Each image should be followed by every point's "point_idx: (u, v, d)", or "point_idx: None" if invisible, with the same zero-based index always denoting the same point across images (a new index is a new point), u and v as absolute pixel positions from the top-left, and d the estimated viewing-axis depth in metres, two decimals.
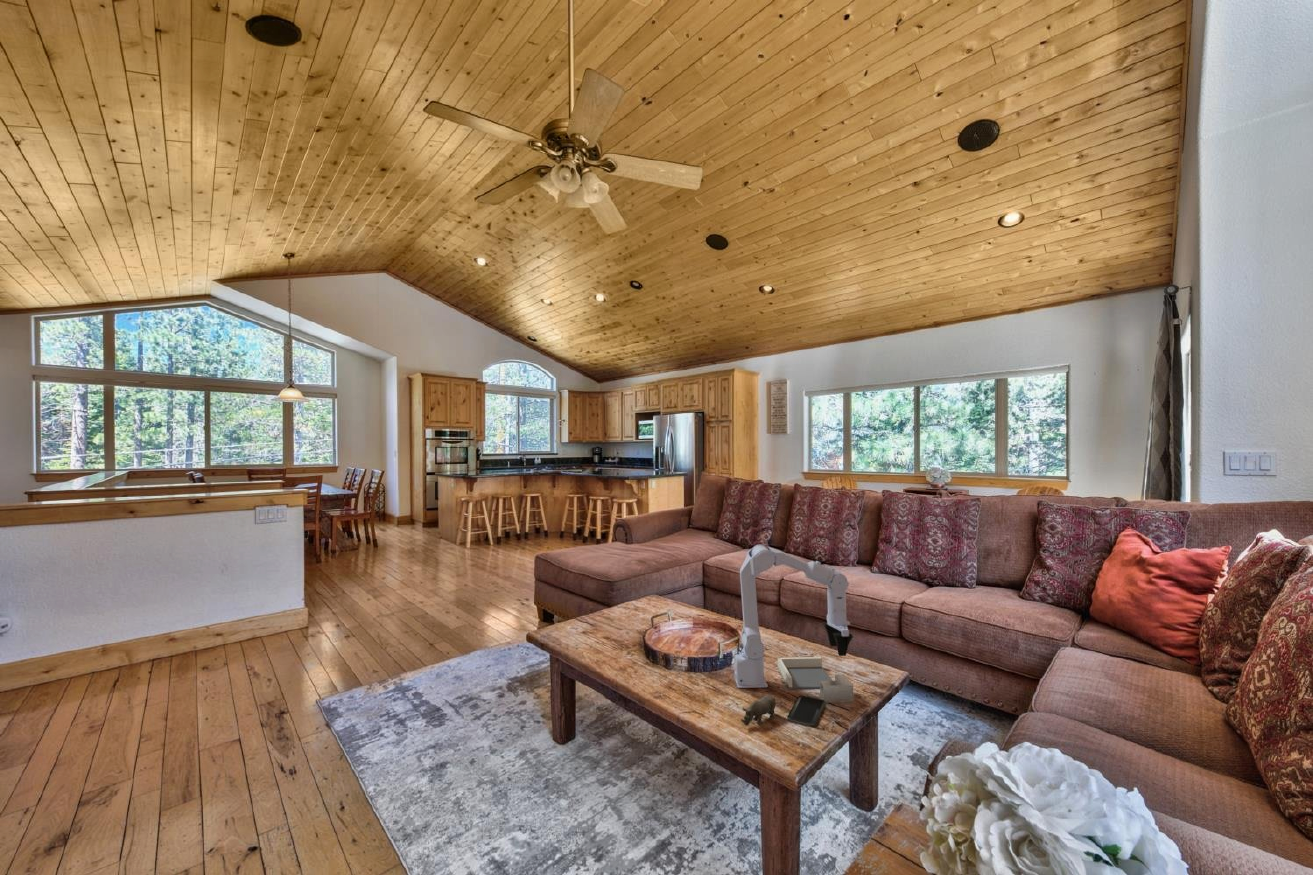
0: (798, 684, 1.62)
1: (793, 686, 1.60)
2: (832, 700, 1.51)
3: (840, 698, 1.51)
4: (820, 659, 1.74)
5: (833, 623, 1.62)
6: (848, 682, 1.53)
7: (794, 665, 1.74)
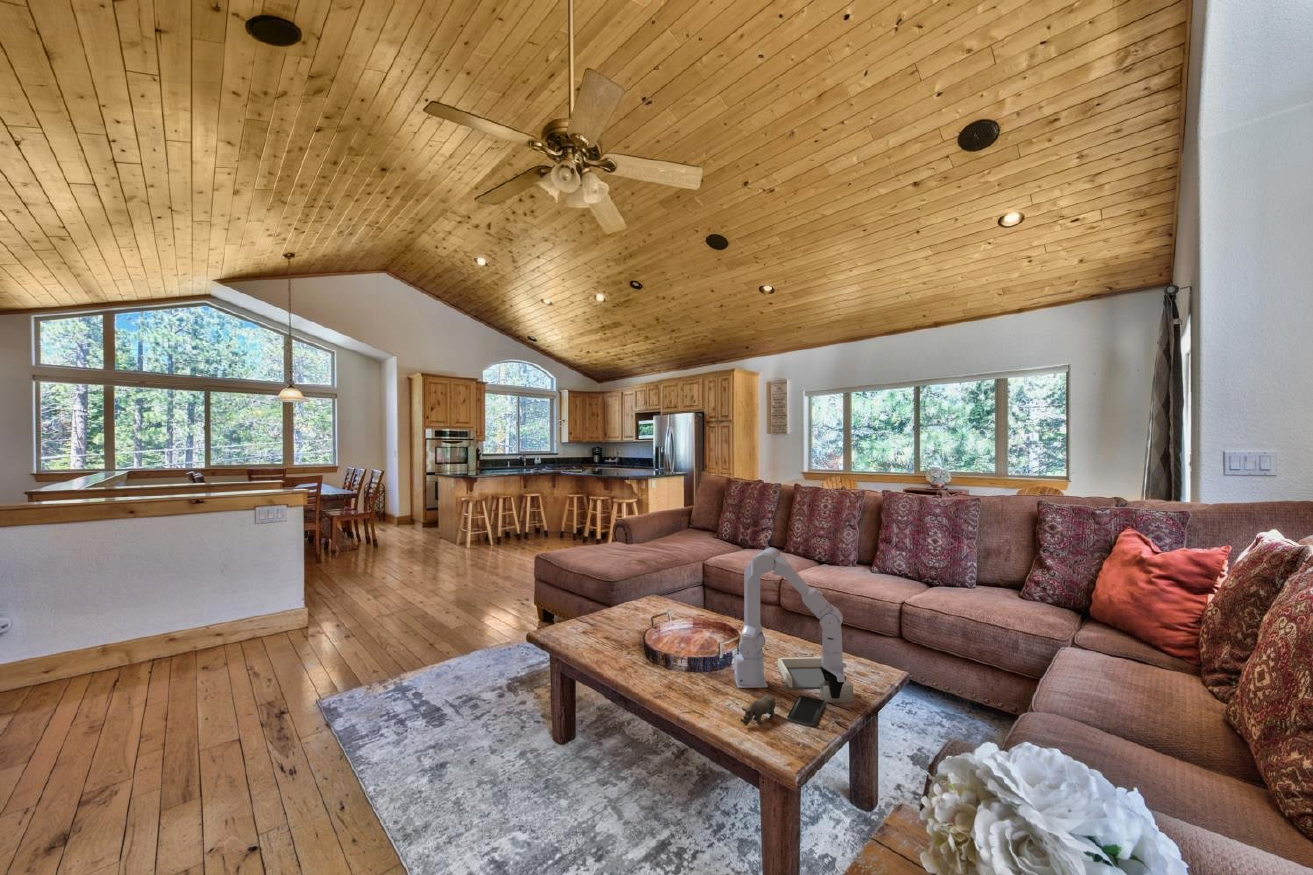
0: (798, 684, 1.62)
1: (793, 686, 1.60)
2: (832, 700, 1.51)
3: (840, 698, 1.51)
4: (820, 659, 1.74)
5: (828, 666, 1.51)
6: (848, 682, 1.53)
7: (794, 665, 1.74)
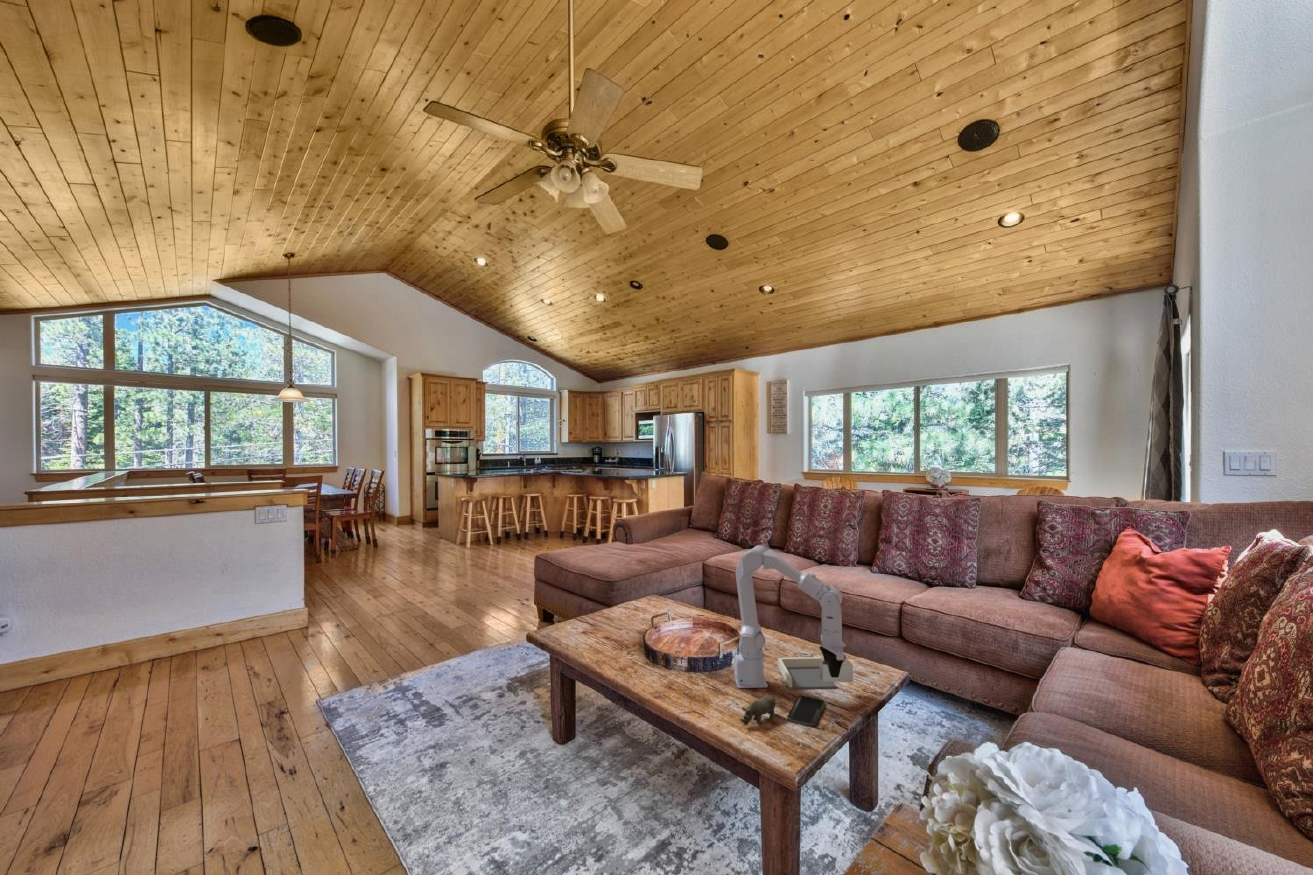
0: (798, 684, 1.62)
1: (793, 686, 1.60)
2: (832, 680, 1.51)
3: (839, 678, 1.51)
4: (820, 659, 1.74)
5: (827, 645, 1.51)
6: (848, 662, 1.53)
7: (794, 665, 1.74)
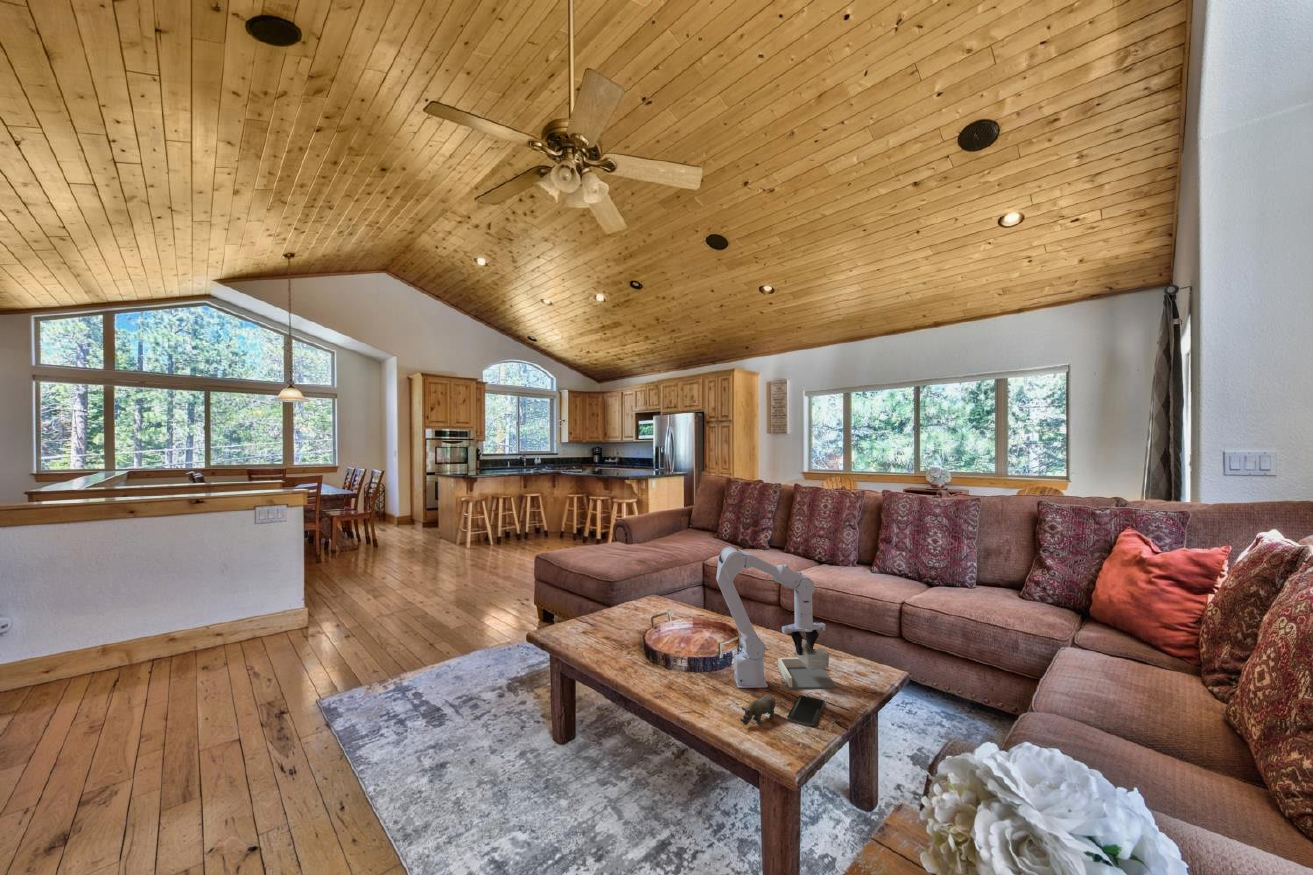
0: (798, 684, 1.62)
1: (793, 686, 1.60)
2: (799, 657, 1.67)
3: (802, 659, 1.64)
4: None
5: (795, 623, 1.68)
6: (812, 653, 1.61)
7: (794, 665, 1.74)
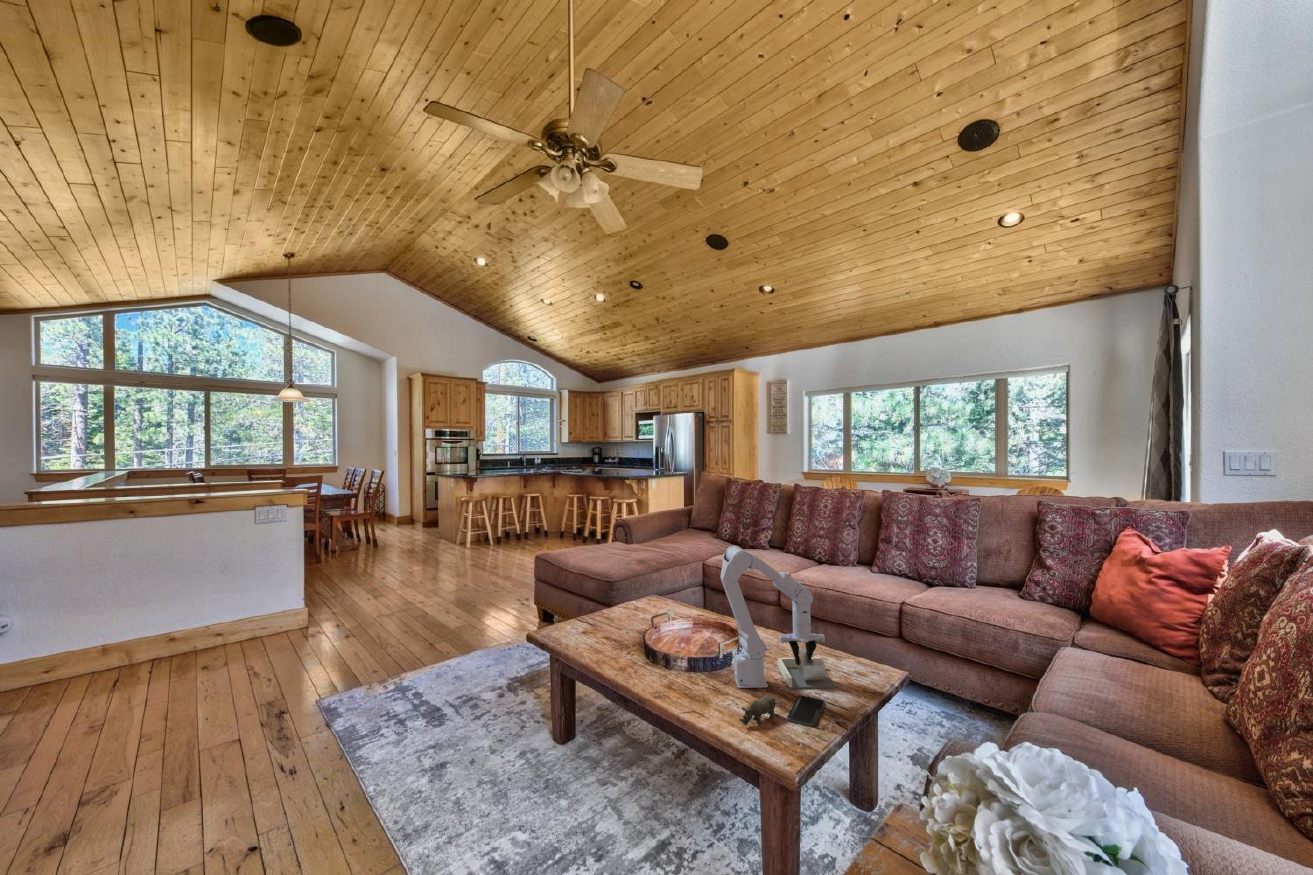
0: (798, 684, 1.62)
1: (793, 686, 1.60)
2: (797, 667, 1.68)
3: (799, 669, 1.65)
4: (820, 659, 1.74)
5: None
6: (807, 664, 1.62)
7: (794, 665, 1.74)
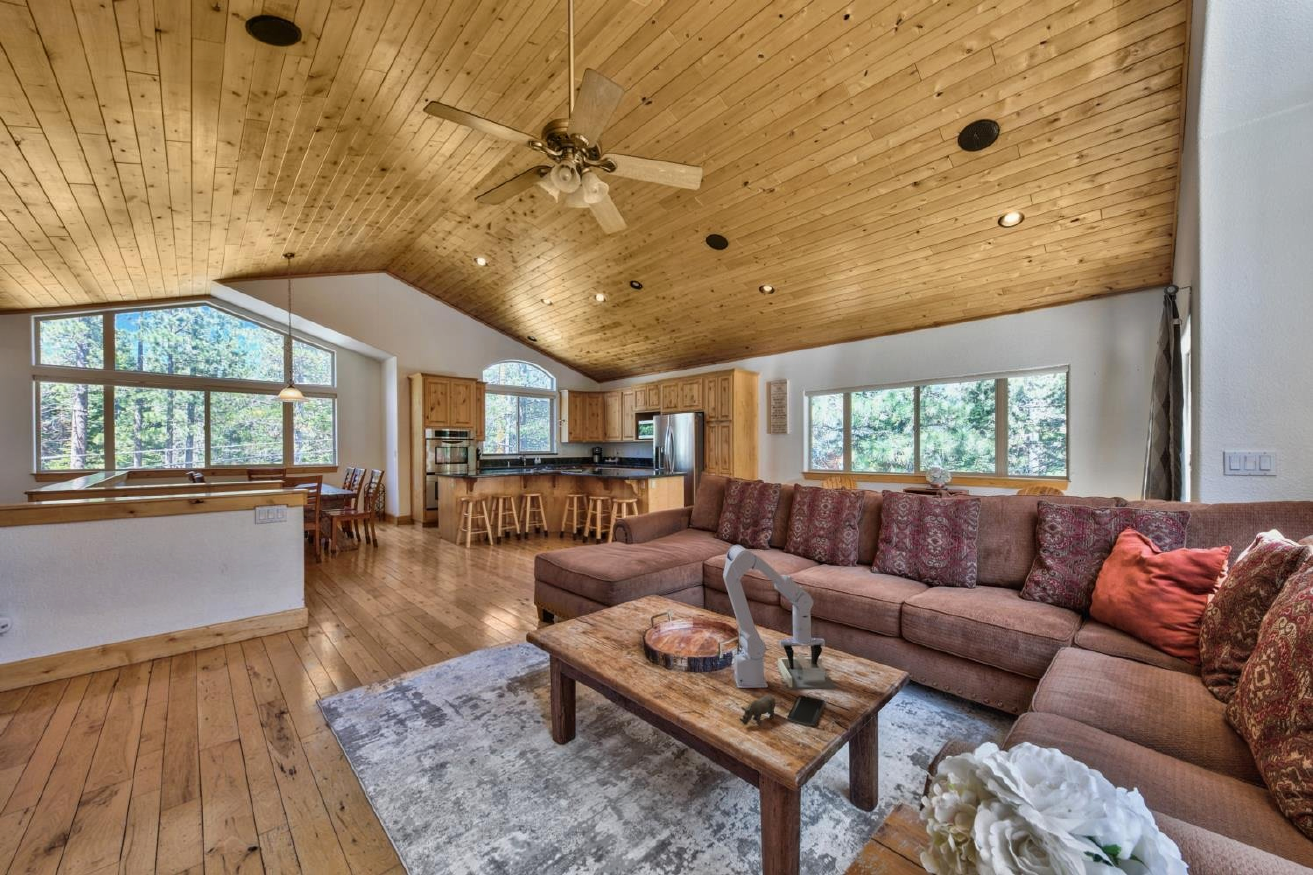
0: (798, 684, 1.62)
1: (793, 686, 1.60)
2: (797, 673, 1.68)
3: (799, 674, 1.66)
4: (820, 659, 1.74)
5: None
6: (807, 667, 1.62)
7: (794, 665, 1.74)
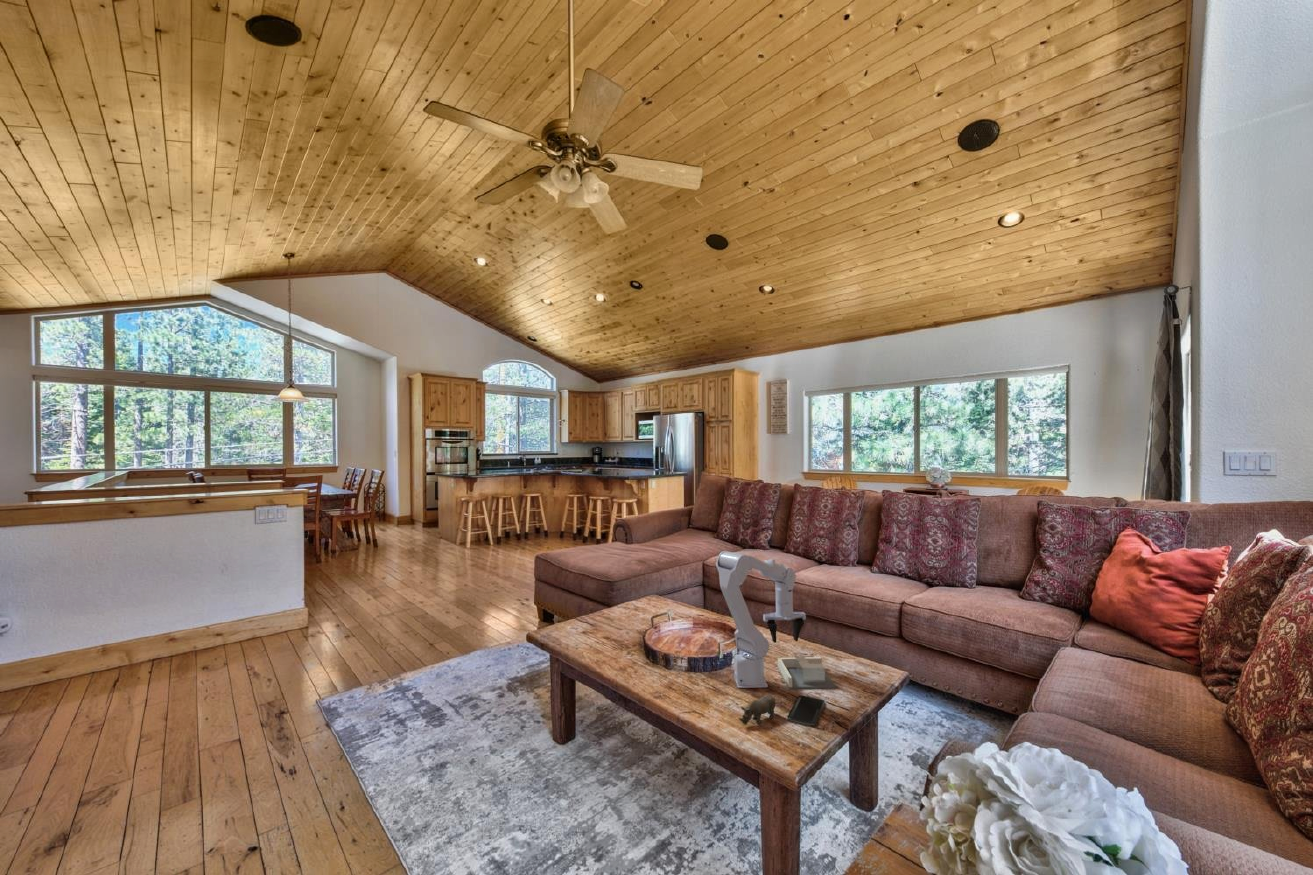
0: (798, 684, 1.62)
1: (793, 686, 1.60)
2: (797, 673, 1.68)
3: (799, 674, 1.66)
4: (820, 659, 1.74)
5: None
6: (807, 667, 1.62)
7: (794, 665, 1.74)
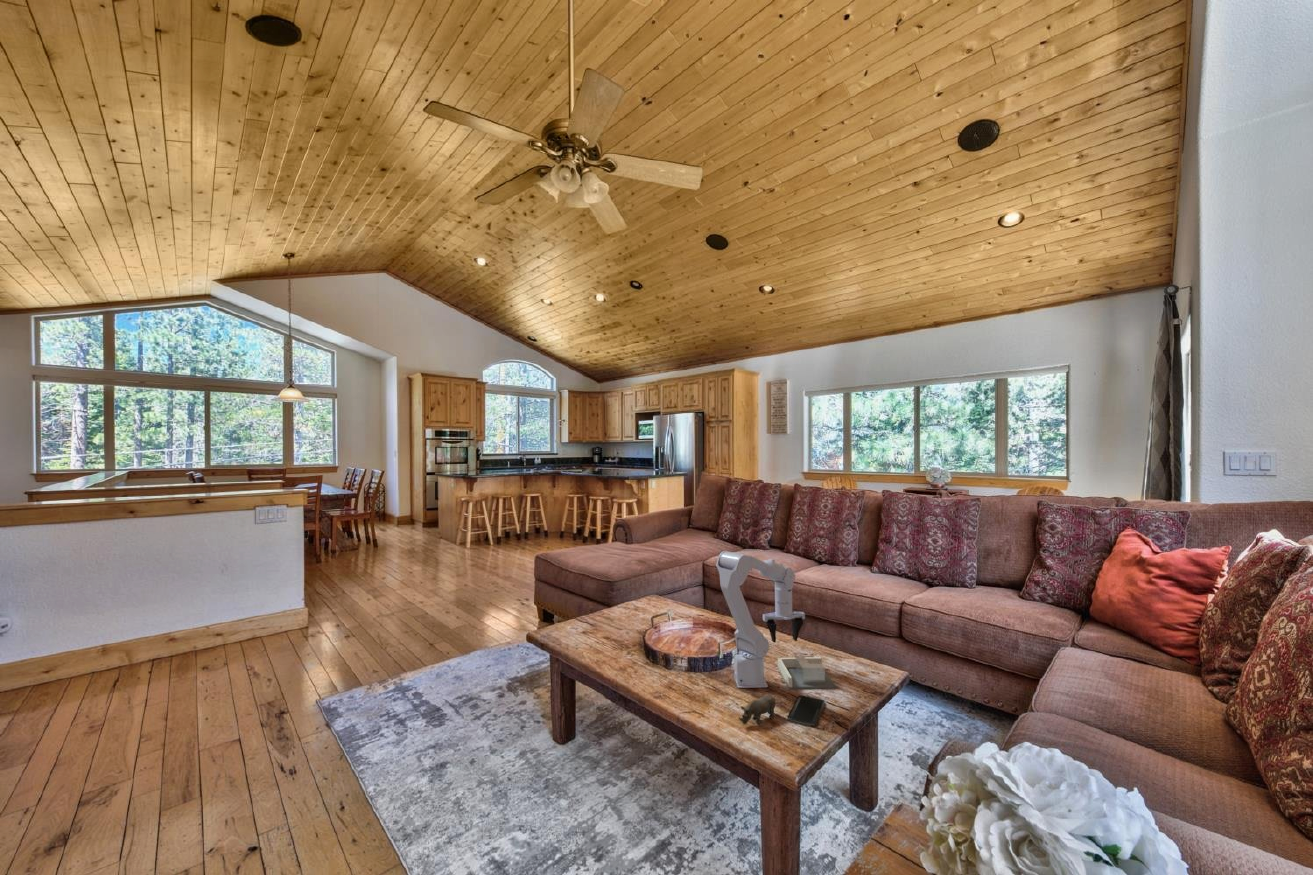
0: (798, 684, 1.62)
1: (793, 686, 1.60)
2: (797, 673, 1.68)
3: (799, 674, 1.66)
4: (820, 659, 1.74)
5: None
6: (807, 667, 1.62)
7: (794, 665, 1.74)
